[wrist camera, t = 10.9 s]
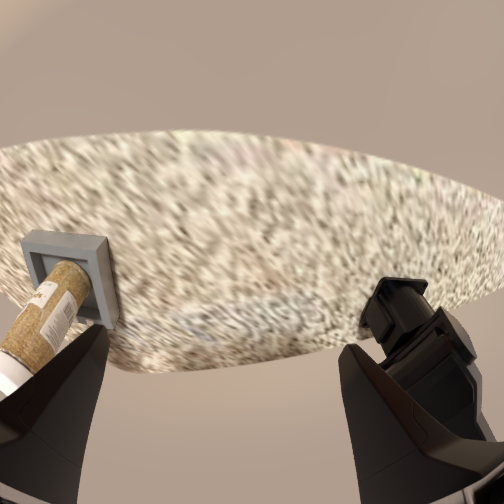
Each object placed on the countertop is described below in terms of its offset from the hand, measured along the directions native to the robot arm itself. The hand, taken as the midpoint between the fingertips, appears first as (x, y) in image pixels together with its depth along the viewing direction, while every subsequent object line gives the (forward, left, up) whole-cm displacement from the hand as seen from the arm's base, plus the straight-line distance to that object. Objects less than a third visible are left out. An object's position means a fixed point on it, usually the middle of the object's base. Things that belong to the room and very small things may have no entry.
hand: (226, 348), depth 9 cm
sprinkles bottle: (+15, +8, -12) cm, 21 cm away
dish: (+15, +8, -13) cm, 21 cm away
